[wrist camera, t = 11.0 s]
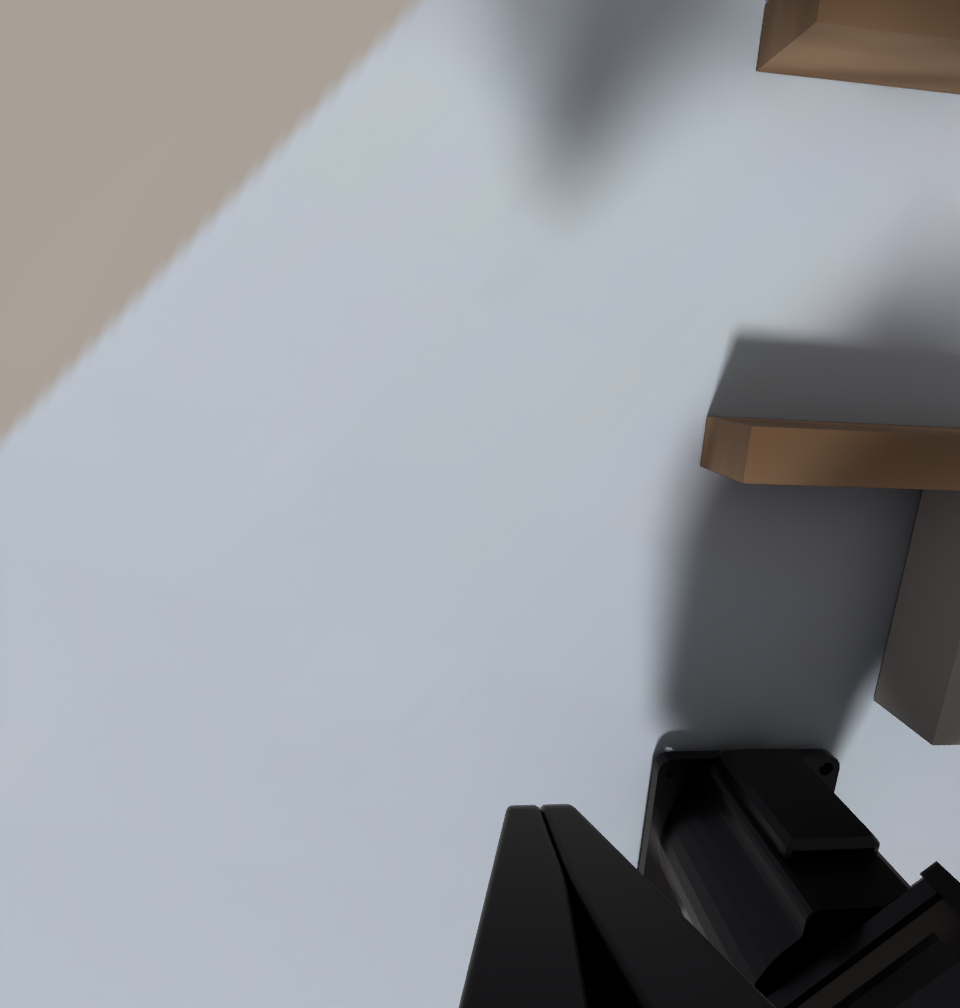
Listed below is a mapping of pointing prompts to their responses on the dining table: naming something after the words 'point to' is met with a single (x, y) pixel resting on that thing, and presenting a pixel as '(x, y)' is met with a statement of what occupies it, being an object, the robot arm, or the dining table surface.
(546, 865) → the robot arm
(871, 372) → the dining table surface
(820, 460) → the walled lane
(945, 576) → the trap pit
